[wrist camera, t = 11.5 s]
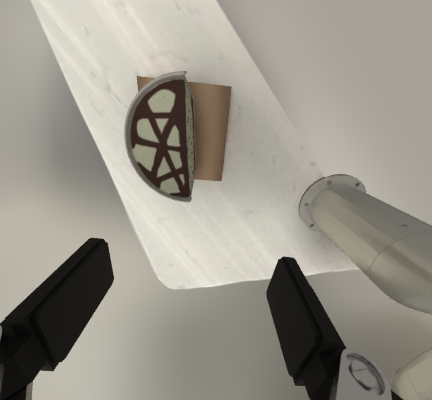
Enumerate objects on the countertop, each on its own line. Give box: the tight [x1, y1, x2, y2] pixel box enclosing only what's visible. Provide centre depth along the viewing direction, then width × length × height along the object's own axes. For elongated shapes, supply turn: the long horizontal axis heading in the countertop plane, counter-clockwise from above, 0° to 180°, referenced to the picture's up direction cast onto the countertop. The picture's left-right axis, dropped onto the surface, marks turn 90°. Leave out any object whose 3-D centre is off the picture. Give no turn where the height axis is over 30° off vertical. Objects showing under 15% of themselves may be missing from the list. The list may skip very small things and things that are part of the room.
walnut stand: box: [137, 76, 231, 181], centre depth 26 cm, size 12×13×4 cm
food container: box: [124, 71, 196, 202], centre depth 20 cm, size 12×6×10 cm, turn 179°
